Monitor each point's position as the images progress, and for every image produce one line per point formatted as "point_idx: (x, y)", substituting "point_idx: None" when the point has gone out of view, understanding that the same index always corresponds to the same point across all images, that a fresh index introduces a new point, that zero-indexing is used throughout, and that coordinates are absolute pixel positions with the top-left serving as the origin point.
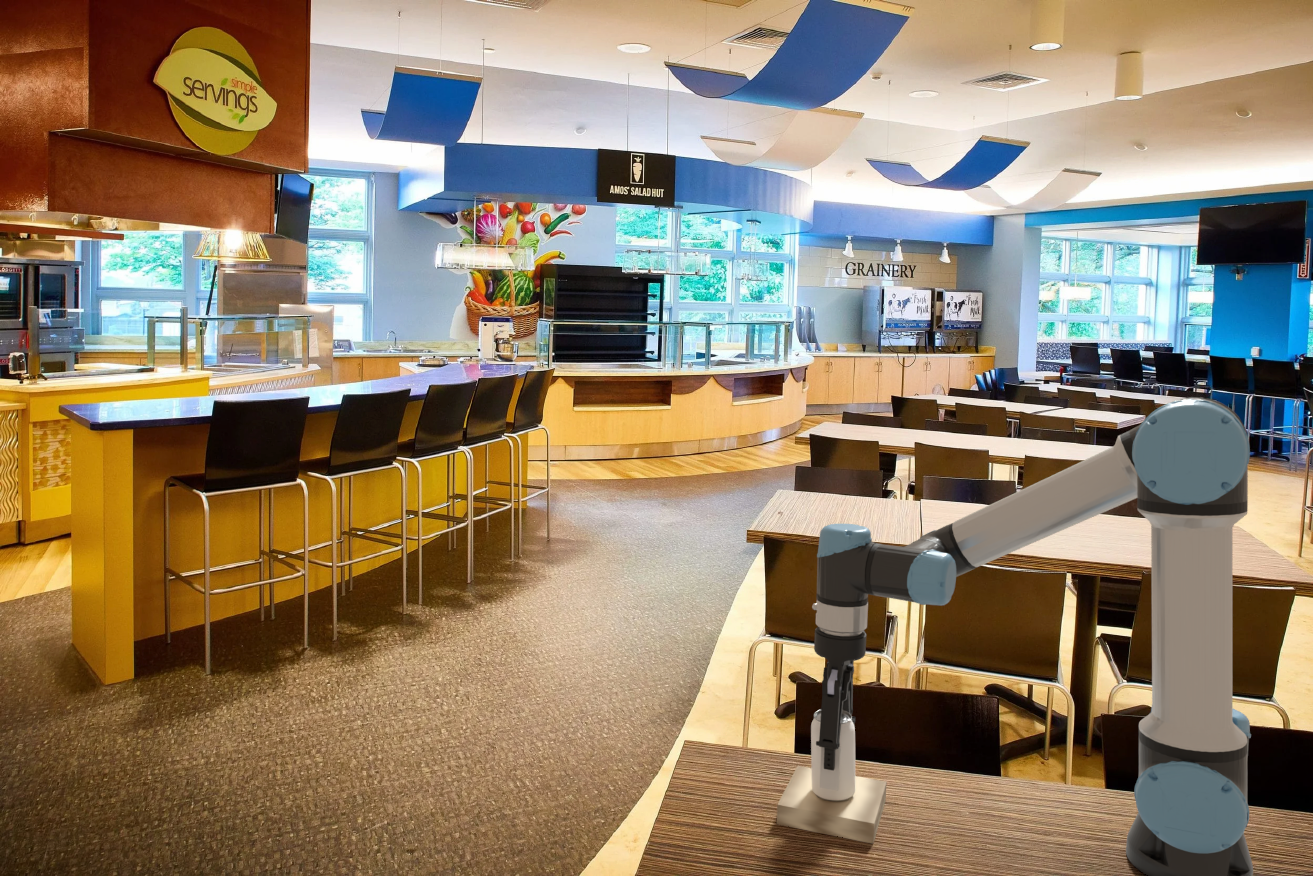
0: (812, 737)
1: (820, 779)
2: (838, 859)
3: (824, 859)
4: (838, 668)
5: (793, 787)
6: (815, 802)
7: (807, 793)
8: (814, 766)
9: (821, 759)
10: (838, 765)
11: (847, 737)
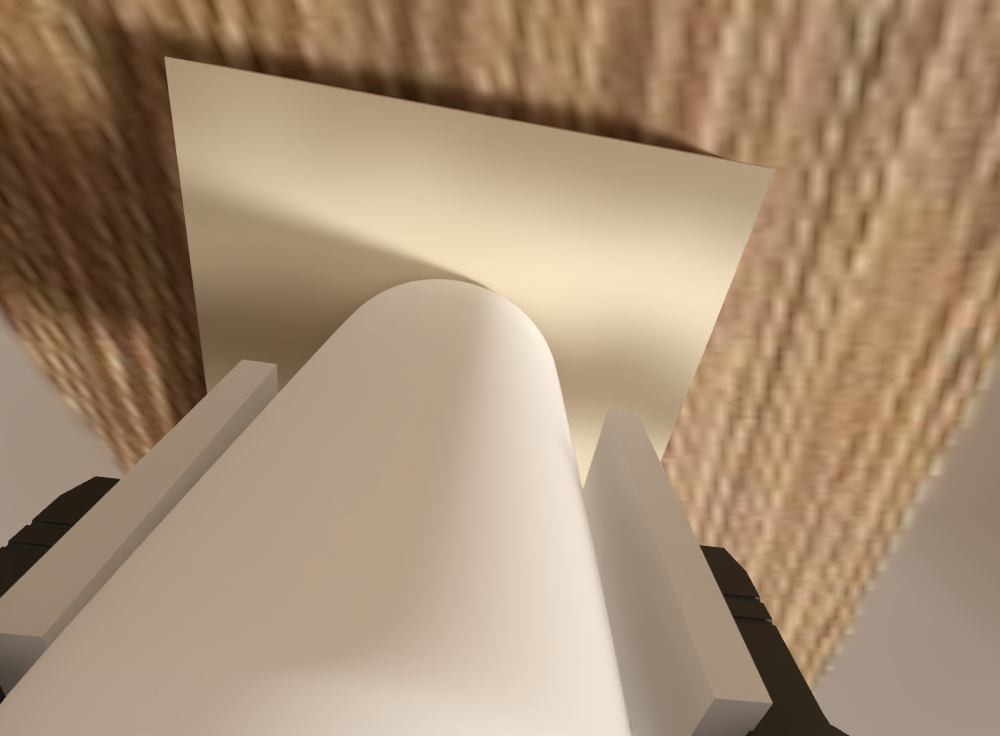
0: (196, 522)
1: (213, 390)
2: (82, 364)
3: (47, 314)
4: None
5: (449, 157)
6: (304, 297)
7: (394, 250)
8: (307, 366)
9: (109, 496)
10: None
11: None
